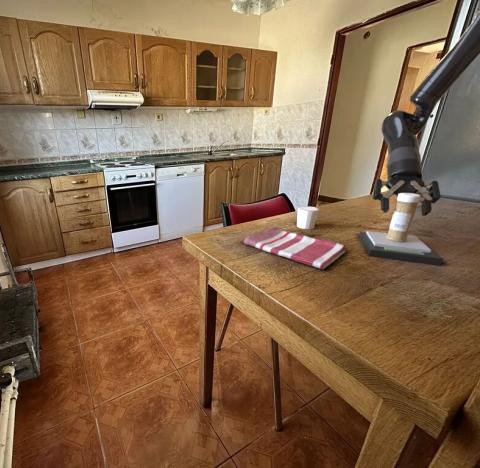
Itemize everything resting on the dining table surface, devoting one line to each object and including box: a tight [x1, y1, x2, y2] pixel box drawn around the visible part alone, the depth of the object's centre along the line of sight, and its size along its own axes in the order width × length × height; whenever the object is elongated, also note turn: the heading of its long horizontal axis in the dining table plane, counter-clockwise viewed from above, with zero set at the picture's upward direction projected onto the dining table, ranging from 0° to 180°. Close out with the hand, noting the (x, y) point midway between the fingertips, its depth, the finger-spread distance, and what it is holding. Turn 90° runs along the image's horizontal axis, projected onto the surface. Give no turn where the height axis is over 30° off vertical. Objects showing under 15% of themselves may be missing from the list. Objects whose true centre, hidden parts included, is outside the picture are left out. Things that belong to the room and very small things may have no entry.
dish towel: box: [243, 225, 346, 270], centre depth 77 cm, size 17×23×3 cm
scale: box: [358, 230, 444, 267], centre depth 74 cm, size 15×15×3 cm
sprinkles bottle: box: [386, 193, 421, 242], centre depth 72 cm, size 5×5×13 cm
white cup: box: [296, 205, 320, 230], centre depth 94 cm, size 7×7×7 cm
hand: (405, 212), depth 71 cm, fingers open, 8 cm apart
